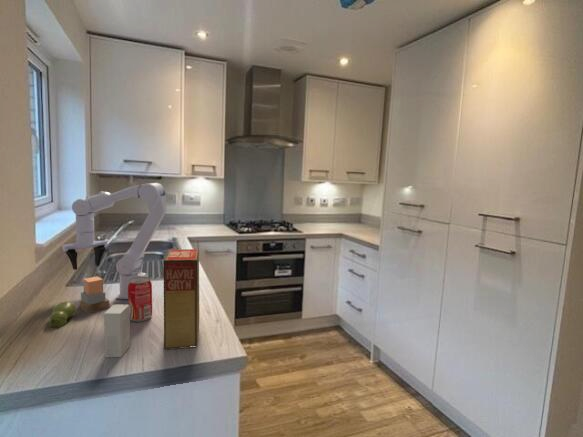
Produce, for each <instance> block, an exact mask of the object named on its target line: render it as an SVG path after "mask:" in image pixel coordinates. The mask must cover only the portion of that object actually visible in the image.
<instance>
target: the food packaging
mask: <svg viewBox="0 0 583 437" xmlns="http://www.w3.org/2000/svg"><path fill="white" fill-rule="evenodd" d="M162 263H163V349H164V348H165V349H164V350H170V349H169V348H179V349H181V348H180V347H190V346H197V347H198V344H197V343H198V341H199V334H198V333H200V250H199V249H197V248H195V249H193V248H190V249H188V248H187V249H186V248H185V249H184V248H183V249H179V248H177V249H175V248H174V249H169V250H168V251H167V253H166V256H165V258H164V259H163V261H162Z"/></svg>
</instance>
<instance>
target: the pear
mask: <svg viewBox="0 0 583 437" xmlns="http://www.w3.org/2000/svg"><path fill="white" fill-rule="evenodd" d="M75 312H76V306H75V304H74V303H73V302H71V301H61V302H60V303H58V304H57V305H56V306H55V307H54V308H53V309H52V314H51V315H50V318H49V319H50V320H49V326H50V327H54V328H56V327H57V328H58V327H59V328H60V327H64V326H65V325H67V323H68V319H69V318H72V317H73V315H74V314H75Z"/></svg>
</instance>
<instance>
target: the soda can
mask: <svg viewBox="0 0 583 437" xmlns="http://www.w3.org/2000/svg"><path fill="white" fill-rule="evenodd" d="M127 305H129V313H130V321H131V322H134V323H135V322H136V323H139V322H140V323H141V322H145V321H147V320H149V319H150V318H151V317H152V315H153V283H152V281H151V278H150V277H149V276H148V277H135V278H132V279H130V280H129V284H128V299H127Z"/></svg>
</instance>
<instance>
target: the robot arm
mask: <svg viewBox="0 0 583 437" xmlns="http://www.w3.org/2000/svg"><path fill="white" fill-rule="evenodd" d="M85 197H86V198H79V199H78V198H77V199H76V200H75V201H73V203H72V205H71V209H72V212H73V213H74V214H75V230H76V231H75V234H76V235H75V236H76V239H75V240H76V242H75V243H74V242H73V243H68V244H61V247H62V251H63V252H65V254H66V255H67V257H68V259H69V261H70V263H71V266H72V269H73V271H77V270H78V251H76V250H82V249H83V250H84V249H91V248H93V251H94V265H95V266H97V267H100V265H101V260H102V257H103V255H104V253H105V252H106V247H108V241H107V240H95V212H99V211H102V210H106V209H108V208H112V207H113V206H114V204H115V203H116V202H119V201H122V200H126V199H129V198H132V197H135V198H138V199H141V200H142V201H143V202H144V203H145V204H146V206H147V208H148V210H149V213H148V214H147V216H146V218H145V220H144V222H143V223H142V226H141V227H140V229H139V231H138V233H137V234H136V236H135V238H134V239H133V242H132V244H131V245H130V248H129V249H128V250H127V251H126V252H125V253H124V255H123V256H122V257H121V258H120V259H118V261H117V262H116V264H115V265H116V266H115V267H116V268H115V269H116V270H117V272H118V273H119V294H117V295H116V297H115V299H117V300H124V299H125V300H128V284H129V280H130V279H132V278H135V277H149V276H148V273H145V272H142V270H141V267H142V265H143V263H144V257H145V254H146V252H145V251H146V249H147V248H148V246H149V244H150V242H151V240H152V238H153V236H154V235H155V233H156V231H157V229H158V227H160V224H161V222H162V220H163V219H164V217H165V214H166V213H167V192H166V190H165V187H164V186H163V185H162V184H161V183H160V182H152V183H148V182H147V183H144V184H137V185H132V186H128V187H126V188H123V189H121V190H118V191H115V192H112V193H111V192H108V191H103V190H101V191H98V194H95V195H87V196H85Z"/></svg>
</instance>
